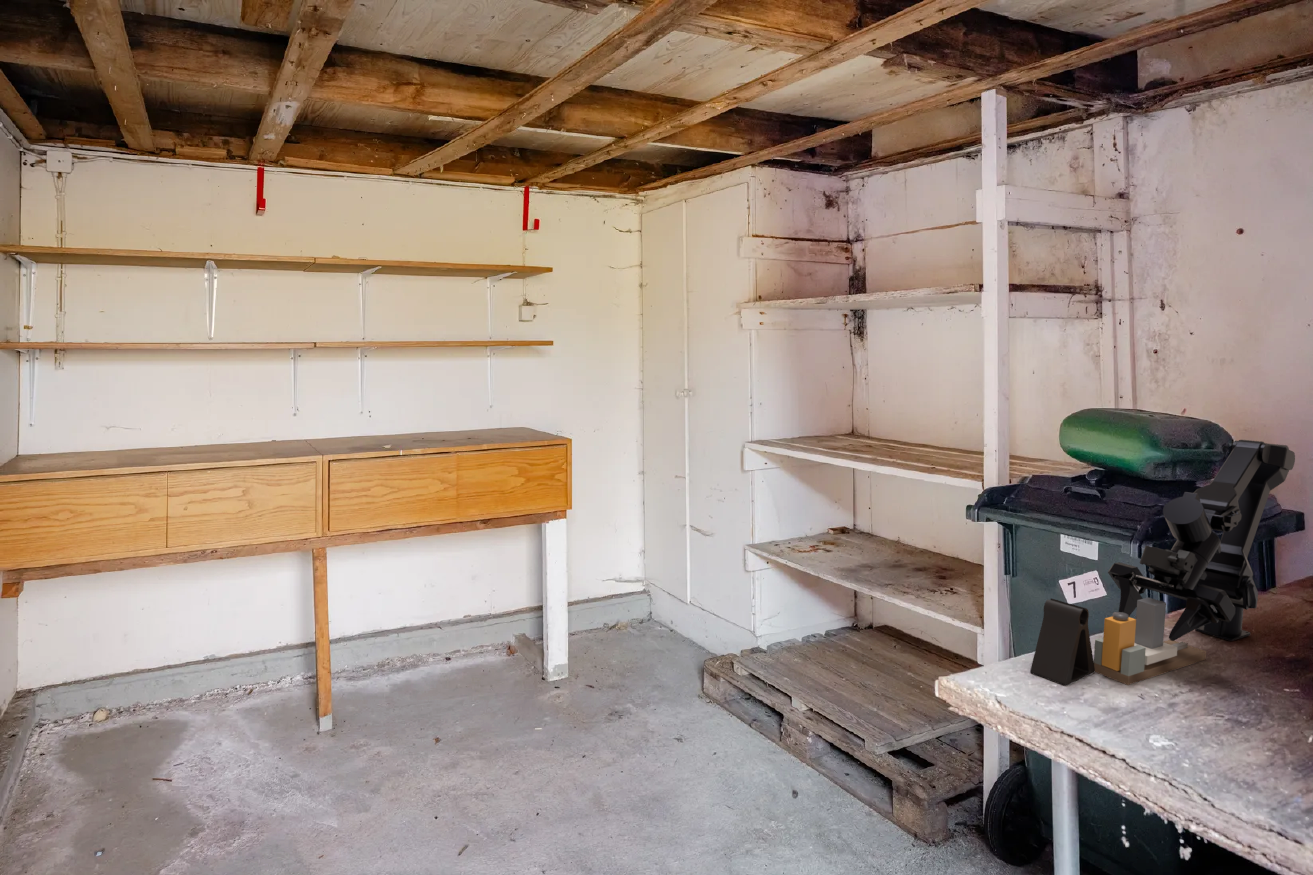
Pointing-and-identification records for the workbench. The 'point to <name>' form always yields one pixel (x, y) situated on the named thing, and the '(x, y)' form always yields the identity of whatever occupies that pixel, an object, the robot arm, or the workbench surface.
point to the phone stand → (1063, 644)
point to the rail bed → (1157, 664)
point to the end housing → (1124, 658)
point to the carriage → (1152, 630)
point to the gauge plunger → (1117, 638)
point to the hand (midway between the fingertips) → (1144, 630)
